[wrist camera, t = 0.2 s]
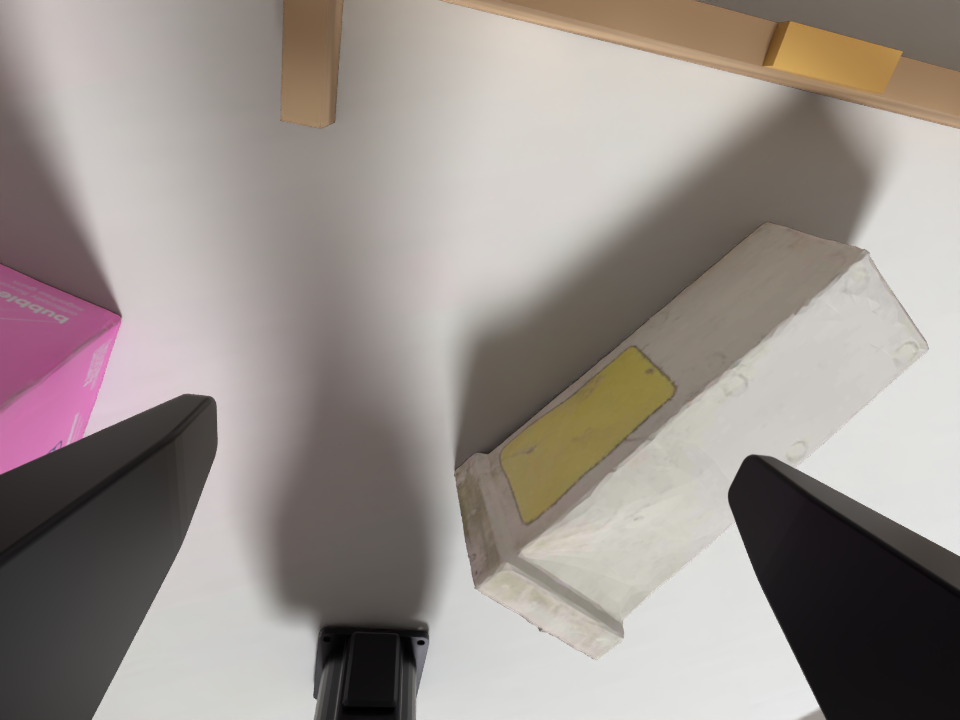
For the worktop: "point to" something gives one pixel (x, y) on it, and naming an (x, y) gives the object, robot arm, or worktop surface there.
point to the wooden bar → (661, 30)
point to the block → (678, 431)
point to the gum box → (47, 366)
